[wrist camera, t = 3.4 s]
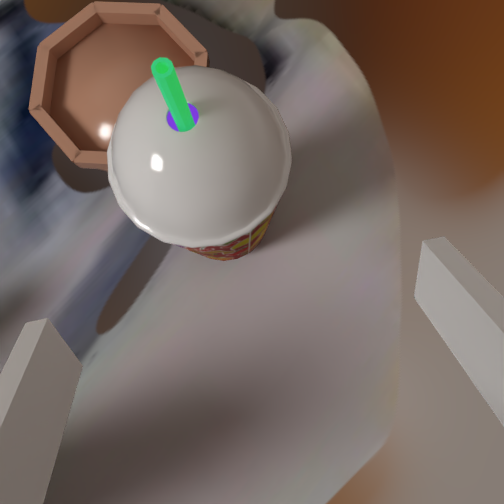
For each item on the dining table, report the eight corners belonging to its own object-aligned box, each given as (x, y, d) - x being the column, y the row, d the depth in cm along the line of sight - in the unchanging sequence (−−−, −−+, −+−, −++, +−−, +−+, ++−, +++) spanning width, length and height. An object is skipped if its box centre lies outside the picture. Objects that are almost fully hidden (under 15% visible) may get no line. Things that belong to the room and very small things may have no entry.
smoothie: (154, 219, 30) (-43, 63, 10) (229, 152, 31) (175, -113, 11) (222, 293, 29) (146, 277, 10) (298, 223, 30) (373, 72, 10)
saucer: (16, 91, 32) (-2, 76, 30) (139, -7, 33) (130, -29, 31) (116, 207, 30) (105, 200, 28) (242, 100, 32) (241, 85, 29)
